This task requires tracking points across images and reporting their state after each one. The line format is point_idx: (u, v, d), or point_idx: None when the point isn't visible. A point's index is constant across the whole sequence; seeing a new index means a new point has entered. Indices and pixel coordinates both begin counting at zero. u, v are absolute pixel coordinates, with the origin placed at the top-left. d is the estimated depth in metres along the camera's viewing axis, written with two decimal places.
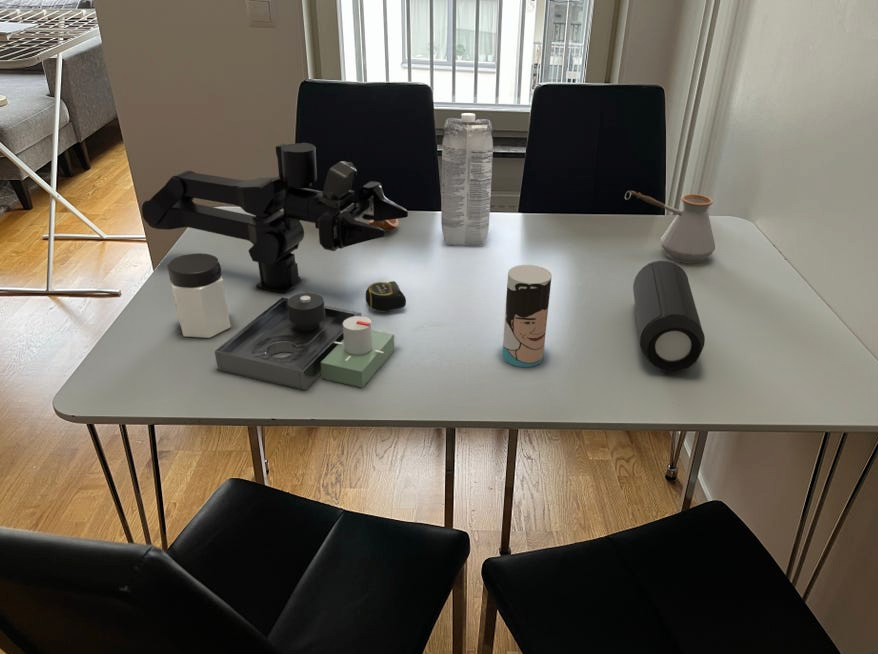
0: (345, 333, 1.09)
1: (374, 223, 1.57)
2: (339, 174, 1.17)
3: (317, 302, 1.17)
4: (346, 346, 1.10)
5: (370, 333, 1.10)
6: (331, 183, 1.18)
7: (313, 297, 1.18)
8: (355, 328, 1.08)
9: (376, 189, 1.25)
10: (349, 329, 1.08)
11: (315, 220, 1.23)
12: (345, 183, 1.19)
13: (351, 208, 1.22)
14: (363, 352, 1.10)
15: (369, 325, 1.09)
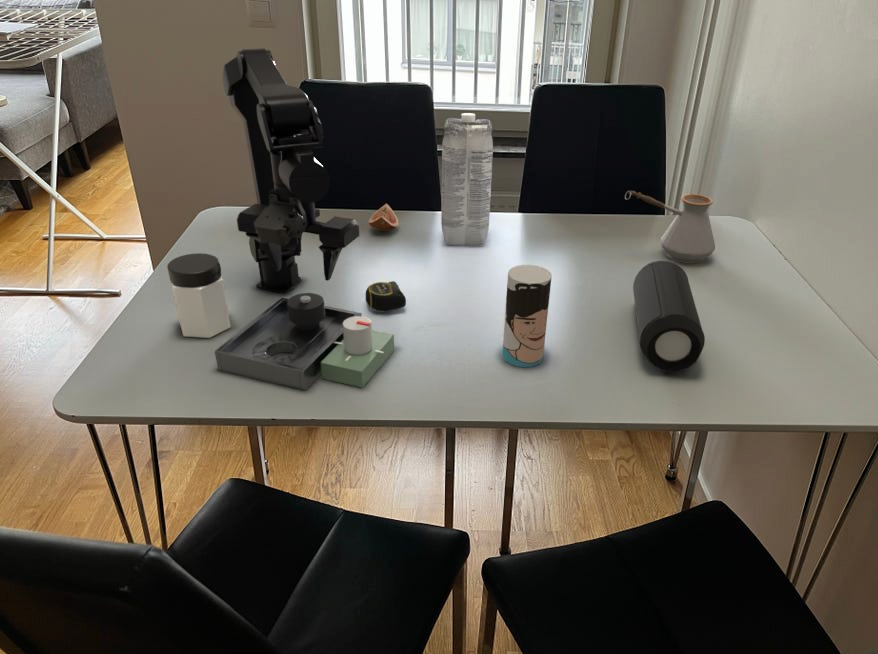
0: (345, 333, 1.09)
1: (374, 223, 1.57)
2: (258, 235, 1.04)
3: (317, 302, 1.17)
4: (346, 346, 1.10)
5: (370, 333, 1.10)
6: None
7: (313, 297, 1.18)
8: (355, 328, 1.08)
9: (323, 249, 1.07)
10: (349, 329, 1.08)
11: None
12: None
13: None
14: (363, 352, 1.10)
15: (369, 325, 1.09)
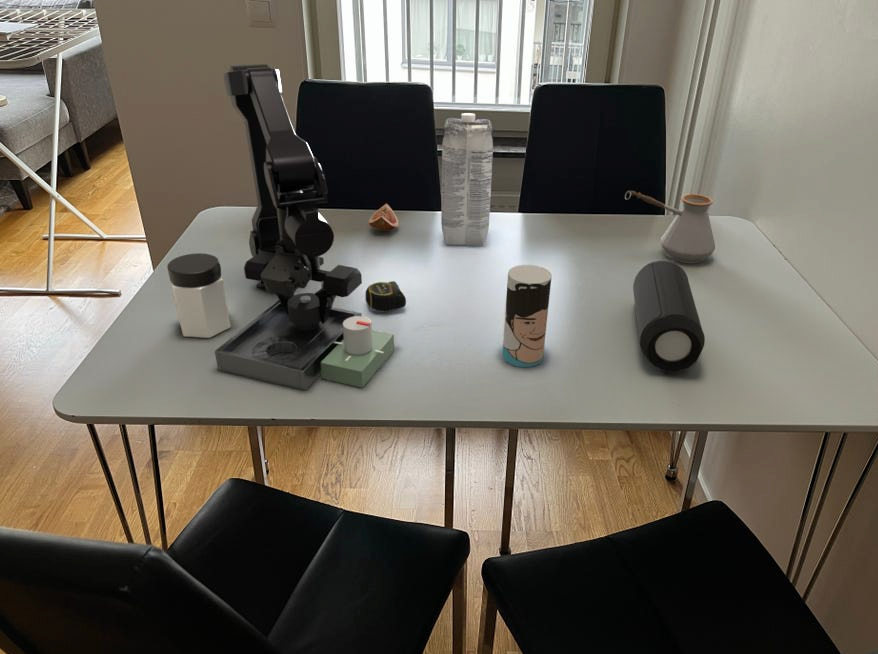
0: (345, 333, 1.09)
1: (374, 223, 1.57)
2: (264, 285, 1.08)
3: (317, 302, 1.17)
4: (346, 346, 1.10)
5: (370, 333, 1.10)
6: None
7: (313, 297, 1.18)
8: (355, 328, 1.08)
9: (319, 295, 1.12)
10: (349, 329, 1.08)
11: None
12: None
13: None
14: (363, 352, 1.10)
15: (369, 325, 1.09)
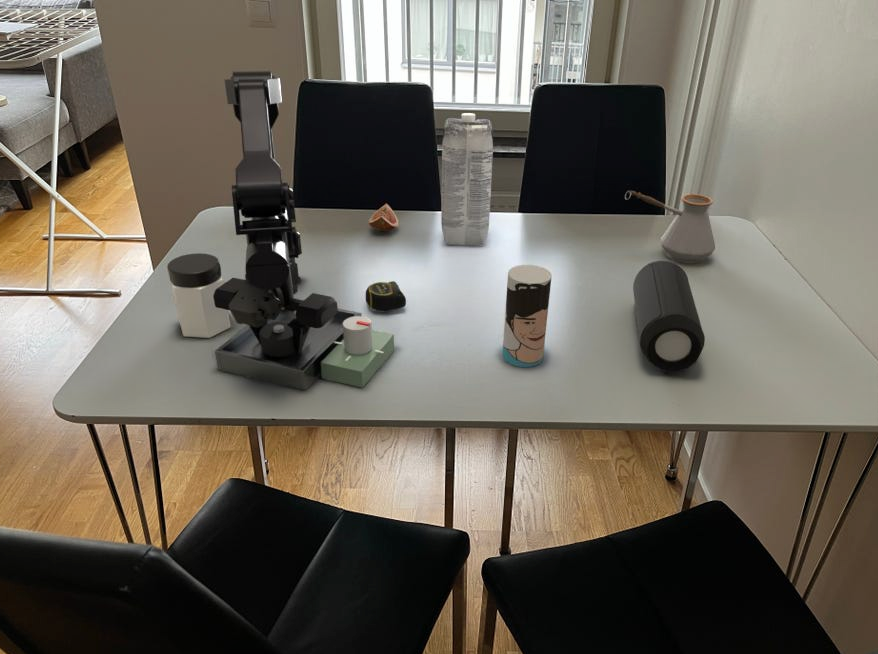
0: (345, 333, 1.09)
1: (374, 223, 1.57)
2: (233, 316, 1.02)
3: (291, 332, 1.10)
4: (346, 346, 1.10)
5: (370, 333, 1.10)
6: None
7: (287, 326, 1.12)
8: (355, 328, 1.08)
9: (292, 326, 1.06)
10: (349, 329, 1.08)
11: None
12: None
13: None
14: (363, 352, 1.10)
15: (369, 325, 1.09)
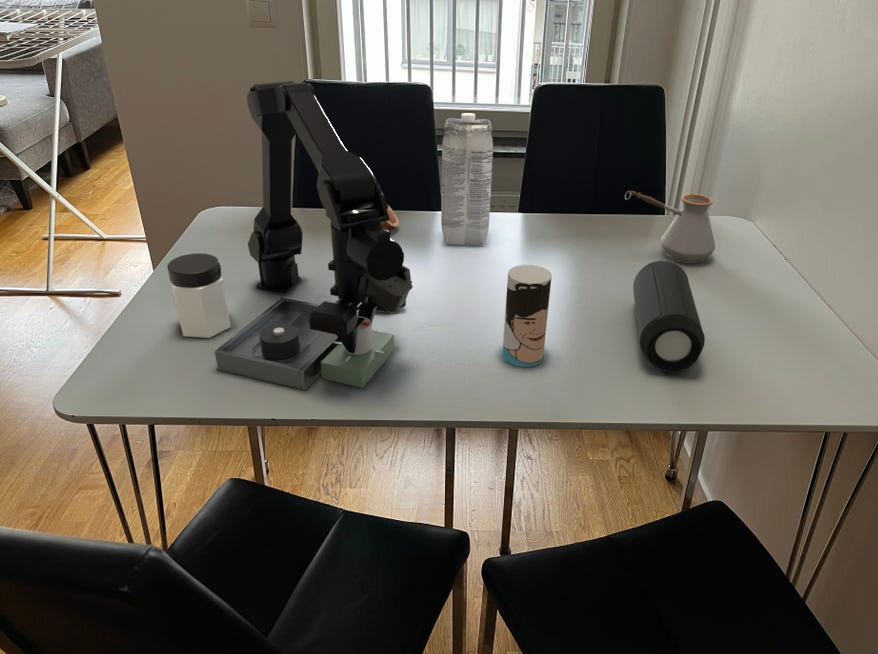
0: None
1: None
2: (395, 306, 1.03)
3: (291, 335, 1.11)
4: None
5: (370, 333, 1.10)
6: (383, 296, 1.02)
7: (287, 329, 1.12)
8: None
9: None
10: None
11: (336, 266, 1.02)
12: None
13: None
14: (363, 352, 1.10)
15: (369, 325, 1.09)
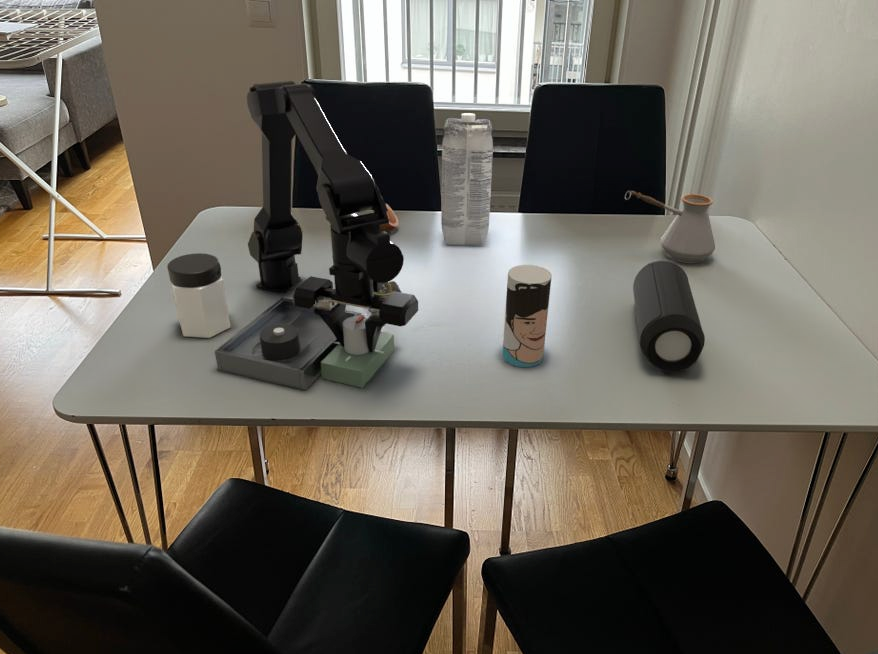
0: (365, 334, 1.09)
1: None
2: None
3: (291, 335, 1.11)
4: (366, 347, 1.10)
5: None
6: None
7: (287, 329, 1.12)
8: None
9: None
10: None
11: (363, 271, 1.02)
12: None
13: None
14: None
15: None
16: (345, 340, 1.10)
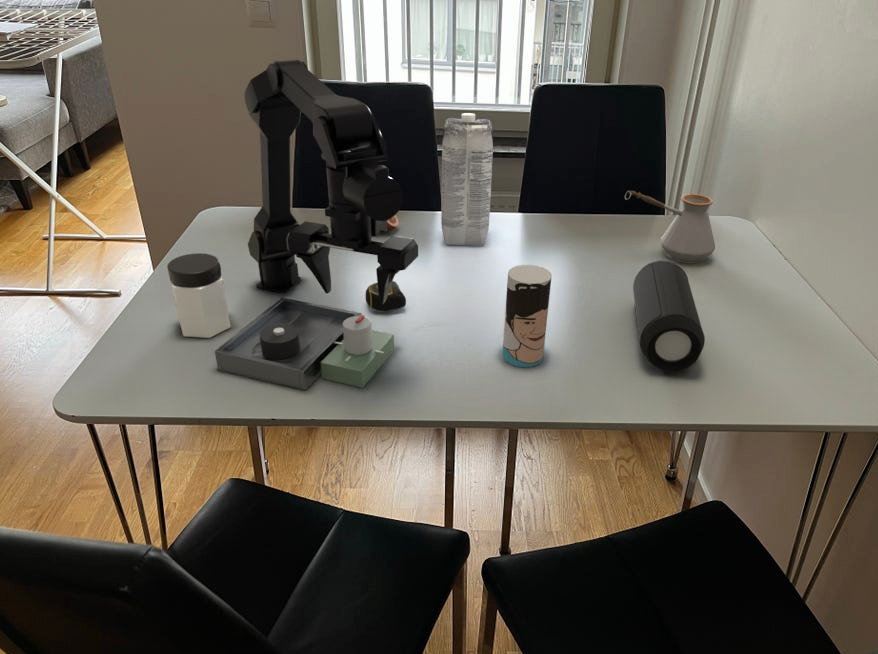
0: (365, 334, 1.09)
1: None
2: None
3: (291, 335, 1.11)
4: (366, 347, 1.10)
5: None
6: None
7: (287, 329, 1.12)
8: (368, 322, 1.09)
9: None
10: (368, 326, 1.09)
11: (361, 212, 0.97)
12: None
13: None
14: None
15: None
16: (345, 340, 1.10)
